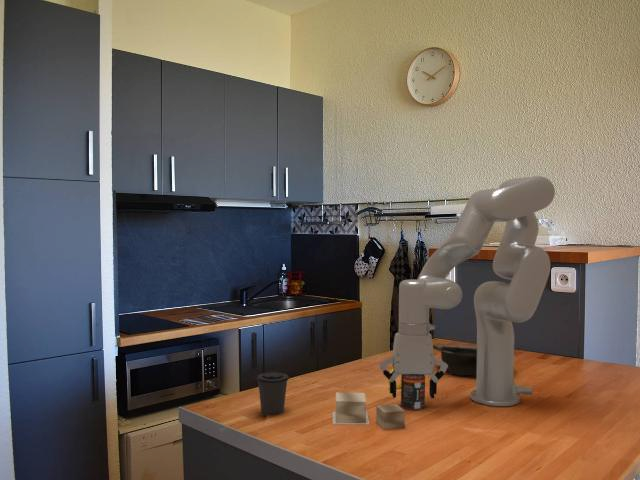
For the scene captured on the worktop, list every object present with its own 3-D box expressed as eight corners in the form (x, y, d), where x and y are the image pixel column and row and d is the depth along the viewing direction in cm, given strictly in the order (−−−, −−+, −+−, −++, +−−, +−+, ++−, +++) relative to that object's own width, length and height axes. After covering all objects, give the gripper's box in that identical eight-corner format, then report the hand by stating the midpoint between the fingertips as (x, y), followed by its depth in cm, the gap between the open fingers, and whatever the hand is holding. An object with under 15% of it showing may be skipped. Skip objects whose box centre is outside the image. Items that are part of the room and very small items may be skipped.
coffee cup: (263, 421, 134) (263, 379, 134) (251, 411, 142) (251, 371, 141) (294, 416, 138) (294, 375, 138) (281, 406, 145) (281, 367, 145)
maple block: (364, 413, 139) (364, 392, 139) (366, 423, 132) (366, 401, 132) (335, 412, 139) (335, 392, 139) (335, 422, 132) (335, 401, 132)
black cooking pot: (454, 382, 168) (453, 351, 168) (420, 368, 192) (419, 340, 192) (528, 376, 173) (527, 346, 174) (486, 363, 198) (485, 336, 198)
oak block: (396, 420, 134) (396, 404, 133) (404, 428, 129) (404, 410, 129) (376, 422, 132) (376, 405, 132) (383, 430, 128) (383, 412, 127)
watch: (399, 386, 166) (400, 365, 166) (406, 388, 164) (408, 367, 164) (385, 388, 162) (386, 367, 162) (392, 390, 160) (394, 369, 160)
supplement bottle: (424, 414, 140) (425, 368, 140) (400, 412, 142) (400, 367, 141) (425, 406, 146) (425, 362, 146) (401, 405, 147) (402, 361, 147)
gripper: (445, 326, 147) (444, 392, 147) (378, 325, 147) (377, 391, 148) (451, 332, 139) (450, 401, 140) (380, 331, 140) (379, 400, 140)
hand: (412, 396), depth 144 cm, fingers open, 9 cm apart
